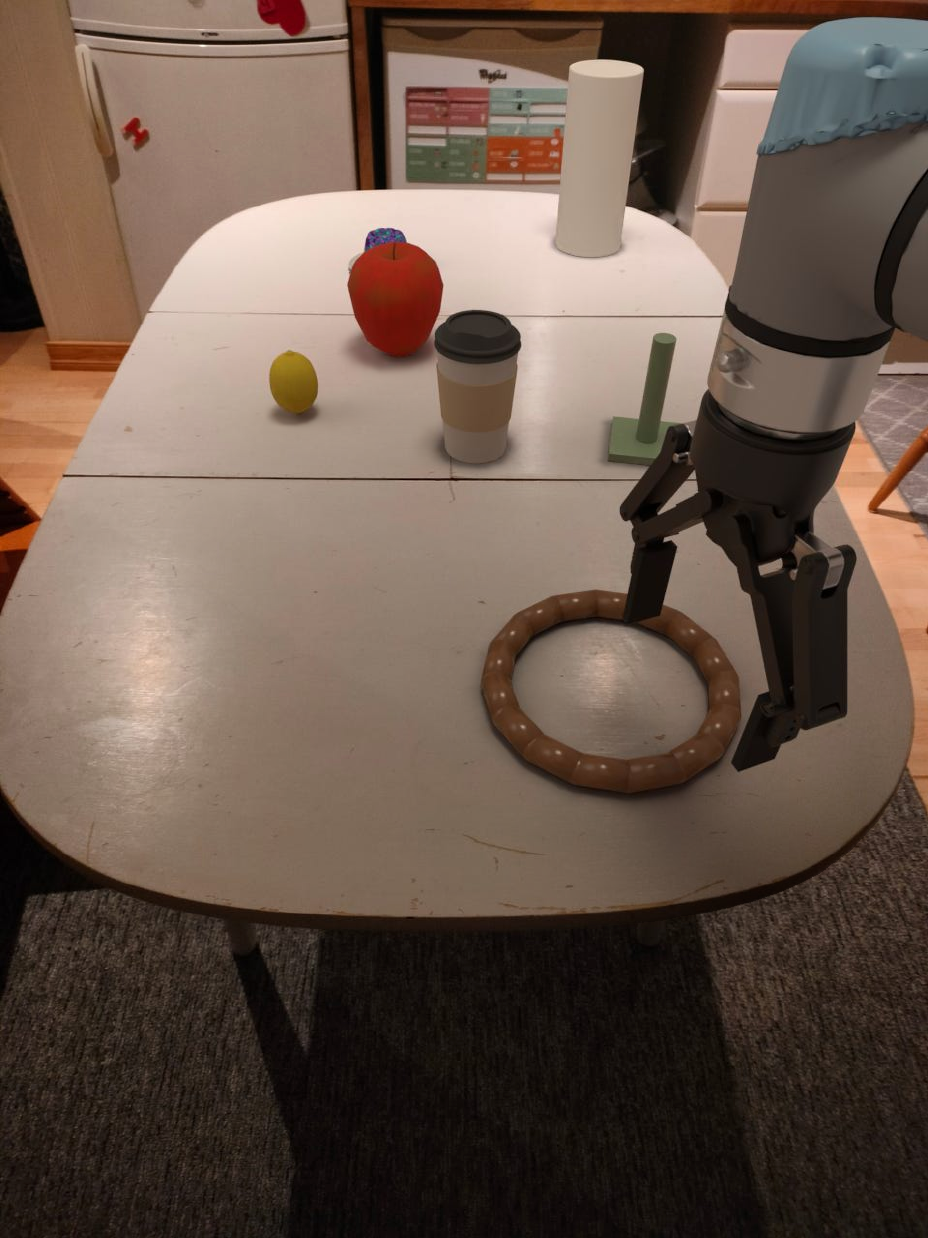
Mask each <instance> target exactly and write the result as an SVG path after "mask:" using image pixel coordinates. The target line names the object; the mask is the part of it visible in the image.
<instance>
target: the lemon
mask: <svg viewBox="0 0 928 1238" xmlns="http://www.w3.org/2000/svg"><path fill="white" fill-rule="evenodd" d="M314 367H315V366H314V365H313V363H312V362H311V360H310V359H309V358H308V357H306V356H305V355H304V354H303V353H300V352H298V351H293V350H292V349H288V350H286V351H285V352H282V353H281V354H279V355H277V356H276V358H275V359H274V360H273V361H272V363H271V365H270V369H269V375H268V383H269V390H270V393H271V396H272V398H273V400H274V401H275V403H276V404H277V405H278V406H279V407H280V408H281V409H283V410H285V411H287V412H289V413H293V414H295V415H300V414H302V412H305V411H307V410H308V409H310V408H311V407H312V406H313V405H314V403H315V402H316V400H317V397H318V393H319V381H318V380H319V379H318V375H317V372H316V369H315V368H314Z"/></svg>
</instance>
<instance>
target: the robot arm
mask: <svg viewBox="0 0 928 1238" xmlns="http://www.w3.org/2000/svg"><path fill="white" fill-rule="evenodd" d="M773 101H774V102H773V103H772V108H771V110H770V111H771V112H770V115H769V118H768V122H767V124H766V127H765V132H764V134H763V138H762V140H761V141H760V142H759V143H758V144H757V149H756V153H755V154H756V155H757V158H756V163H755V169H754V172H753V177H752V183H751V188H750V193H749V198H748V203H747V208H746V214H745V218H744V224H743V227H742V228H743V229H742V234H741V238H740V243H739V248H738V254H737V259H736V264H735V269H734V271H733V272H734V273H733V277H732V282H731V284H730V285H728V290H727V291H728V292H727V296H726V300H725V303H724V304H725V305H724V309H723V313H722V319H721V321H720V326H719V329H718V333H717V337H716V342H715V345H714V350H713V354H712V358H711V362H710V365H709V371H708V374H707V382H706V384H707V388H708V389H706V391H705V392H704V393H703V395H702V397H701V400H700V403H699V404H700V405H699V408H698V413H697V418H696V420H691V421H687V422H681V423H682V424H677V425H673V426H670V427H668V429H667V432H666V435H665V438H664V442H663V445H662V448H661V452H660V453H659V455H658V456H657V457H656V459H655V460H654V461H653V463H652V464H651V465H649V467H648V468H647V469H646V470H645V471H644V473H643V475H642V476H641V477H640V479H639V480H638V481H637V483H636V484H635V485H634V486H633V488H632V489H631V491H630V492H629V494H628V495H626V497H625V499H624V500H623V501H622V503H621V504H620V506H619V515H620V518H621V520H622V521H623V522H629V521H630V523H631V525H632V528H631V532H630V533H631V538H632V541H633V543H634V546H633V550H632V551H633V552H632V556H631V560H630V574H631V576H630V580H629V585H628V590H627V599H626V604H625V609H624V614H623V619H624V620H623V621H624V622H625V624H626V625H627V626H629V625H632V624H637V623H636V622H640V621H643V620H647V619H650V618H654V617H657V616H660V615H661V611H662V607H663V605H664V602H665V599H666V595H667V590H668V587H669V584H670V583H669V582H670V578H671V574H672V570H673V567H674V566H673V565H674V562H675V558H676V555H677V550H678V546H677V544H676V543H675V542H674V541H673V540H672V539H669V540H665V538H669V537H673V536H677V535H680V533H681V532H683V531H685V530H688V529H690V528H692V527H694V526H697V525H698V524H701V523H703V525H704V528H705V530H706V531H705V536H707V537H708V539H709V540H710V541H711V542H712V543H713V544H715V545H716V546H718V547H720V548H721V549H722V551H723V552H724V554H725V555H726V557H727V559H728V560H729V561H730V563H732V564H733V566H735V567H736V571H737V576H738V581H739V587H740V589H741V591H743V593H746V594H748V596H749V597H750V601H751V606H752V612H753V617H754V622H755V627H756V632H757V637H758V642H759V647H760V652H761V657H762V663H763V667H764V671H765V673H764V674H765V678H766V683H767V687H768V691H765V692H762V693H760V694H758V695H757V697H756V699H755V702H754V704H753V707H752V709H751V712H750V714H749V717H748V719H747V722H746V724H745V727H744V729H743V732H742V734H741V736H740V739H739V742H738V744H737V747H736V749H735V752H734V754H733V757H732V759H731V761H730V762H731V765H732V766H733V768H734V769H735V770H736V772H737V773H739V772H740V773H741V772H743V771H746V770H748V769H751V768H754V767H756V766H757V767H758V766H760V765H763V764H765V763H768V762H771V761H773V760H775V759H776V757H777V755H778V753H779V751H780V748H781V746H782V745H783V744H786V743H789V742H792V741H793V740H795V739H797V737H798V735H799V732H800V731H801V730H803V731H809V730H812V729H815V728H817V727H820V726H821V727H822V726H824V725H826V724H829V723H832V722H835V721H838V720H841V719H844V718H845V717H846V716H847V715H848V593H849V592H848V590H849V586H850V583H851V580H852V577H853V574H854V571H855V567H856V565H857V559H858V558H857V553H856V551H855V548H853V547H852V546H851V545H849V544H846V543H845V544H840V545H837V546H834V547H832V546H830V545H829V544H828V543H826V542H825V541H824V540H823V539H821V538H820V537H818V536H817V535H816V534H815V528H814V527H815V525H814V517H815V510H816V509H817V507H818V505H819V504H820V502H822V500H823V499H824V497H825V496H827V494H828V492H829V491H830V490H831V489H832V487H833V486H834V484H835V483H836V481H837V478H838V476H839V474H840V471H841V469H842V466H843V463H844V461H845V459H846V456H847V454H848V451H849V449H850V445H851V444H852V440H853V438H854V435H855V433H856V428H857V424H856V421H858V420H859V419H860V418H861V416H862V415H863V414H864V413H865V409H866V407H867V404H868V402H869V399H870V396H871V394H872V391H873V389H874V386H875V383H876V381H877V378H878V375H879V372H880V369H881V367H882V364H883V362H884V359H885V356H886V354H887V351H888V348H889V346H890V343H891V340H892V338H893V336H894V333H895V330H898V331H900V332H902V333H908V334H910V335H912V336H915V337H916V338H918V339H920V340H922V341H925V342H926V343H928V20H922V19H914V18H913V19H912V18H896V17H878V16H877V17H875V16H872V17H868V16H867V17H852V18H844V19H842V18H841V19H836V20H831V21H826V22H823V23H820V24H818V25H816V26H814V27H813V28H810V29H809V30H807V31H806V32H805V33H804V34H802V35H801V36H800V37H799V39H797V40H796V42H795V43H794V44H793V46H792V47H791V50H790V51H789V53H788V56H787V57H786V60H785V64H784V67H783V71H782V73H781V78H780V81H779V84H778V87H777V91H776V95H775V97H774V100H773ZM693 473H695V479H696V486H697V492H695V493H694V494H693V495H691V496H690V497H688V498H686V499H683V500H682V501H680V502H678V503H676V504H675V506H674V507H672V508H669V509H667V510H665V511H663V512H661V513H660V511H661V510H662V509H663V508H664V507H665V506H666V504H667V503H668V502H669V501H670V500H671V498H672V497H674V495H675V494H676V493H677V492H678V490H679V489H680V488H681V487H682V486H683V484H684V483H685V482H686V481H687V480H688V478H689V477H690V476H691V475H692V474H693ZM778 560H781V563H782V564H781V565H782V566H781V568H780V569H778V570H773V571H771V572H768V573H763V574H761V573H760V572H761V571H760V568H759V567H761V566H765V565H768V564H771V563H774V562H776V561H778Z"/></svg>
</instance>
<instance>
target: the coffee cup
mask: <svg viewBox="0 0 928 1238" xmlns="http://www.w3.org/2000/svg"><path fill="white" fill-rule="evenodd" d="M521 339H522V335H521V332H520V331H519V329H518V327H516V326H515V325H514V324H512V322H511V320H510V319H509V318H508V317H507V316H505V315H503V314H501V313H498V312H496V311H492V310H486V309H467V310H461V311H458V312H455V313H454V314H450V315H449V316H448V317H447V318H446V319H445V321H444V322H442V323H441V324H439V326H438V327H437V328H436V329H435V331H434V340H433V341H434V342H433V346H434V348H435V350H436V359H437V360H436V361H437V362H436V377H437V388H438V399H439V408H440V409H439V410H440V411H439V412H440V416H441V417H440V418H441V420H442V426H443V438H444V449H445V451H446V453H447V455H448V456H450V457H451V458H453V459H455V460H457V461H459V462H462V463H467V464H487V463H490V462H493V461H496V460H497V459H499V458H501V457H502V456H503V455H504V454H505V452H506V449H507V441H508V433H509V426H510V421H511V419H512V414H513V413H512V412H513V407H514V406H513V405H514V399H515V398H514V397H515V390H516V382H517V377H518V369H519V368H518V359H519V352H520V350H521V348H522V341H521Z"/></svg>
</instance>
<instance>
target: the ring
mask: <svg viewBox="0 0 928 1238" xmlns="http://www.w3.org/2000/svg"><path fill="white" fill-rule="evenodd" d="M627 594H628V592H627V593H626V592H619V591H611V590H602V589H589V590H582V591H575V592H567V593H559V594H554V595H551V596H549V597H546V598H545V599H543V600H540V601H538V602H536V603H534V604H532V605H530V606H528V607H526V608H524V609H522V610H520V611H518V612H516V613H514V615H512V617H511V618H510V619H509V620H508V621H507V622H506V624H505V625H504V626H503V627H502V629H500V631H499V632H498V633H497V634H496V635H495V637H494V638H493V639H491V641H490V643H489V645H488V647H487V652H486V656H485V661H484V666H483V670H482V674H481V679H480V680H481V681H480V684H481V689H482V692H483V695H484V699H485V701H486V706H487V708H488V711H489V714H490V715H489V716H490V718H491V721H492V724H493V725H494V727H495V728H496V729H497V730H498V731H499V732H500V733H501V735H503V737H504V738H505V739H506V740H507V741H508V742H509V743H510V745H511V746H512V747H513V748H514V749H515V750H516V751H517V752H518V753H519V755H521V756H522V758H523V759H524V760H526V762H528V763H530V764H532V765H534V766H536V767H538V768H540V769H542V770H544V771H546V772H548V773H550V774H552V775H553V776H556V777H558V778H560V779H562V780H563V781H565V782H568V783H569V784H571V785H574V786H578V787H579V786H580V787H586V788H593V789H597V790H605V791H610V792H611V791H612V792H618V793H624V794H632V793H638V792H643V791H649V790H654V789H661V788H665V787H671V786H675V785H681V784H683V783H684V782H686V781H687V780H690V779H691V778H692V777H694V776H695V775H696V774H698V773H700V772H701V771H703V770H704V769H705V768H708V767H709V766H710V765H712V764H713V763H715V762H717V761H718V760H719V759H721V757H723V755H724V753H725V751H726V749H727V747H728V745H729V744H730V742H731V740H732V738H733V736H734V734H735V732H736V730H737V728H738V726H739V725H740V722H741V720H742V704H741V703H742V702H741V688H740V687H741V686H740V678H739V675H738V673H737V671H736V669H735V668H734V666H733V664H732V663H731V661H730V659H729V658H728V656H727V654H726V652H725V651H724V649H723V648H722V646H721V644H720V643H719V641H718V640H717V638H716V637H714V636H713V635H711V634H710V633H709V632H708V631H706V630H705V629H704V628H703V627H701V625H699V624H698V623H696V622H695V621H694V620H693V619H692V618H690V617H689V616H688V615H686V614H685V613H684V612H682V611H681V610H678V609H675V608H673V607H671V606H668V605H666V604H663V607H662V611H661V615H660V616H657V617H654V618H650V619H647V620H643V621H640V622H636V623H635V624H638V625H641V626H642V627H645V628H648V629H650V630H653V631H655V632H657V633H660V634H662V635H665V636H666V637H668V638H669V639H671V640H672V641H673V642H674V643H675V644H676V645H678V646H679V647H680V648H681V649H682V650H684V651H685V652H686V653H687V654H689V656H691V657H692V658H693V659H694V661H695V663H696V664H697V666H698V668H699V670H700V671H701V673H702V675H703V677H704V679H705V680H706V682H707V684H708V703H709V704H708V705H709V711H708V713H707V715H706V716H705V718H704V720H703V722H702V723H701V725H700V727H699V729H698V731H697V732H696V734H695V735H693V736H691V737H690V738H688V739H686V740H685V741H684V742H682V743H680V744H679V745H677V746H676V747H674V748H672V749H670V750H669V751H668V752H663V753H659V754H652V755H648V756H642V757H636V758H631V759H630V758H629V759H624V758H616V757H610V756H604V755H597V754H591V753H583V752H582V751H579V750H578V749H575V748H573V747H571V746H569V745H567V744H565V743H564V742H561V741H559V740H558V739H555V738H553V737H551V736H549V735H547V734H545V733H544V732H543V731H542V729H541V728H540V727H538V725H537V724H536V723H535V722H534V721H533V720H532V719H531V718H530V717H529V716H528V715H527V714H526V713H525V712H524V711H523V710H522V709H521V706H520V703H519V700H518V697H517V694H516V692H515V689H514V686H513V683H512V677H513V674H514V673H513V671H514V667H515V661H516V657H517V656H518V654H519V653H520V652H521V651H522V650H523V648H524V647H525V646H526V644H527V643H528V642H529V641H530V640H531V639H532V638H533V636H535V635H537V634H540V633H541V632H543V631H545V630H547V629H549V628H551V627H553V626H555V625H557V624H559V623H561V622H566V621H574V620H581V619H587V618H595V617H598V618H603V619H604V618H605V619H611V620H612V619H613V620H614V619H615V620H619V621H624V619H623V614H624V609H625V604H626V599H627Z"/></svg>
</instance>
